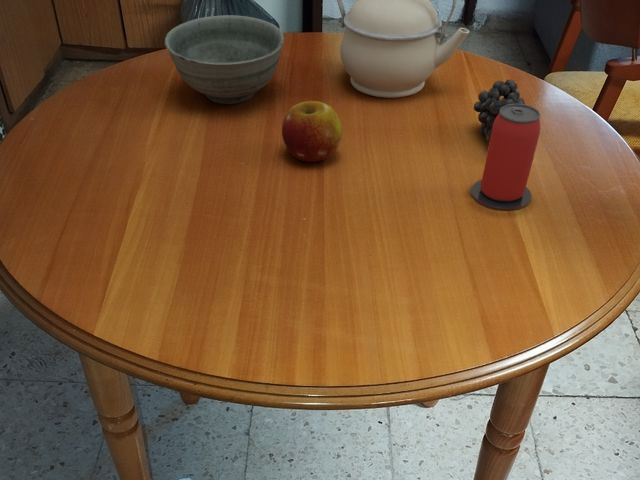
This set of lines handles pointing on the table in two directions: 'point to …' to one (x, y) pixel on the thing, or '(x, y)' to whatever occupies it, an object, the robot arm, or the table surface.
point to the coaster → (499, 205)
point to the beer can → (511, 152)
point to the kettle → (394, 45)
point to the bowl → (226, 55)
